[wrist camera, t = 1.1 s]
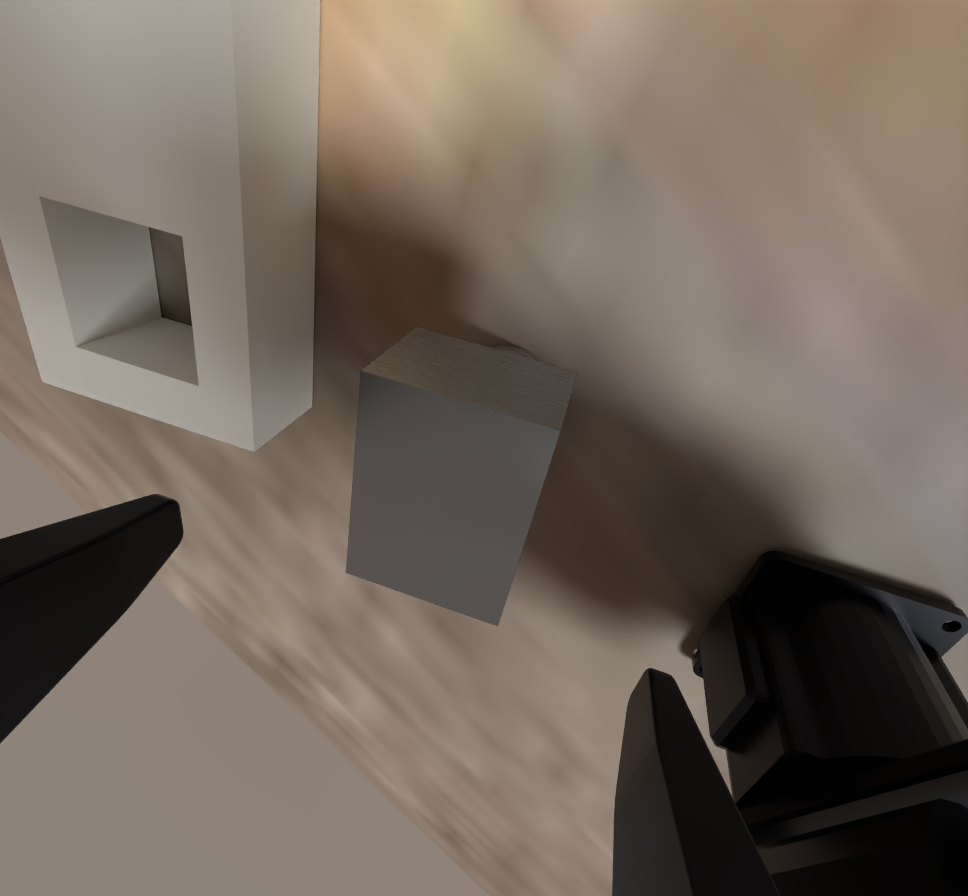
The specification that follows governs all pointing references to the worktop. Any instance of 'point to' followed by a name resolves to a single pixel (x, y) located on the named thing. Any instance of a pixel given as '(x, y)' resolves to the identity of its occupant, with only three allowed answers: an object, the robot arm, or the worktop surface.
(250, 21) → the dock
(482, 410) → the gray rectangular block
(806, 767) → the robot arm
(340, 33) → the worktop surface
